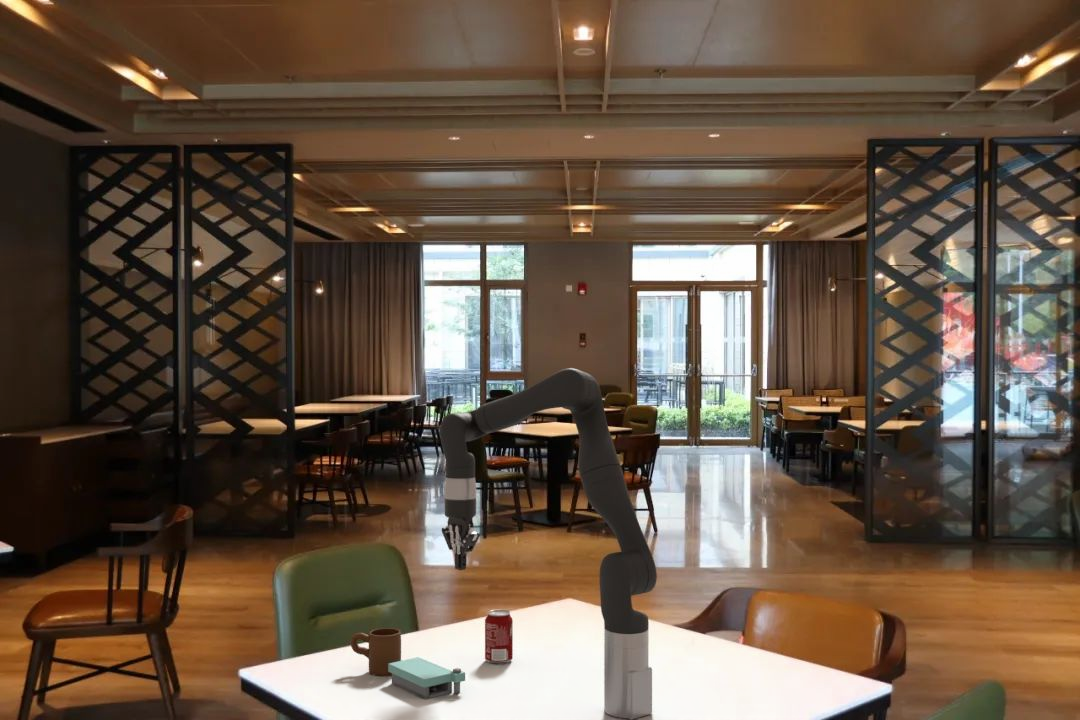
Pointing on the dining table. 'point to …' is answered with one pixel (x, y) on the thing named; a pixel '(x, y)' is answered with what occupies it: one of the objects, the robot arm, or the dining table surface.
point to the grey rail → (427, 691)
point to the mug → (379, 649)
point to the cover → (425, 672)
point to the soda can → (498, 637)
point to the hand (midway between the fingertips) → (460, 569)
